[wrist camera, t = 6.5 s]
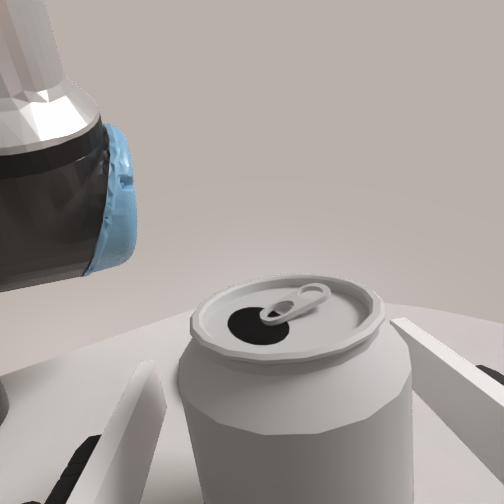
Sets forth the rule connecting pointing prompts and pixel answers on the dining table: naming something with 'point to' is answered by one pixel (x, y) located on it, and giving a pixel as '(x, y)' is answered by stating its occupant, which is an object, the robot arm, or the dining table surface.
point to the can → (298, 395)
